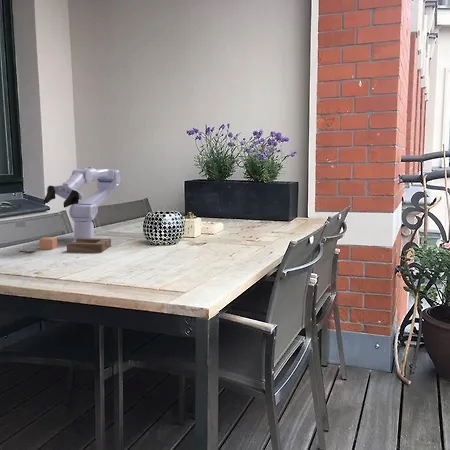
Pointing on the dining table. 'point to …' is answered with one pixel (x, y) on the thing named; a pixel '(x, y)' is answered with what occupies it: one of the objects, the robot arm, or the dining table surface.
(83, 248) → the tray
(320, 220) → the dining table surface
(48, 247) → the key block
